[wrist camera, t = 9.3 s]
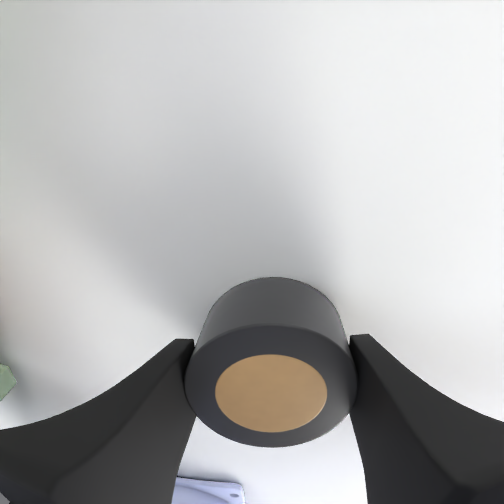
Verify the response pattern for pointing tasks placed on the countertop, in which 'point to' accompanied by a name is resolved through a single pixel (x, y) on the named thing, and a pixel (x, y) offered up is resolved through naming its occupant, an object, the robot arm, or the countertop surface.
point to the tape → (272, 365)
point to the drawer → (6, 380)
